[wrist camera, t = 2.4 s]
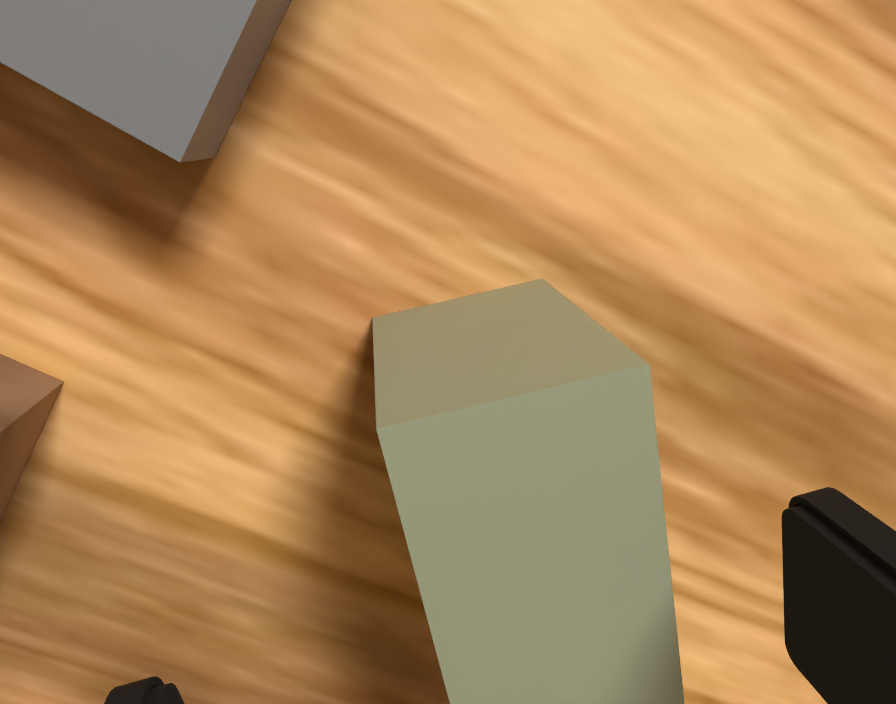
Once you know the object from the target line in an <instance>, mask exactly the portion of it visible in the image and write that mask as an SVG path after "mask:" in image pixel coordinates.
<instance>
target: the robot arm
mask: <svg viewBox="0 0 896 704" xmlns="http://www.w3.org/2000/svg"><path fill="white" fill-rule="evenodd" d="M782 549H783V589H784V629H785V645H786V648H787V651H788V654H789V656H790V658H791V660H792V661H793V663H794V665H795V666H796V667H797V669H798V670H799V671H800V672H801V673H802V674H803V676H804V677H805V678H806V679H807V680H808V681H809V682H810V684H811V685H812V686H813V687H814V688H815V689H816V691H817V692H818V693H819V694H820V695H821V696H822V698H823V699H824V700H825V701H826V702H827V703H828V704H896V531H895V530H893V529H892V528H890V527H889V526H888V525H886V524H885V523H883V522H882V521H880V520H879V519H878V518H876V517H875V516H873V515H872V514H871V513H869V512H868V511H866V510H865V509H864V508H862V507H861V506H859V505H858V504H856V503H855V502H854V501H852V500H851V499H849V498H848V497H847V496H845V495H844V494H842V493H841V492H839V491H838V490H836V489H834V488H829V487H826V488H823V489H819V490H816V491H812V492H809V493H805V494H802V495H798V496H795V497H793V498H792V499H791V500H790V502H789V508H788V509H786V510H784V511H783V513H782ZM104 704H184V702H183V700H182V698H181V696H180V693H179V691H178V689H177V688H176V686H175V685H174V684H173V683H169V684H165V685H164V683H163V682H162V680H161V679H160V678H159V677H150V678H147V679H143V680H140V681H136V682H133V683H129V684H125V685H122V686H118V687H115V688H114V689H112V690H111V691H110V693H109V695H108V697H107V699H106V701H105V703H104Z"/></svg>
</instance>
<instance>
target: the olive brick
mask: <svg viewBox="0 0 896 704" xmlns="http://www.w3.org/2000/svg"><path fill="white" fill-rule="evenodd" d="M372 321H373V350H374V378H375V407H376V430H377V434H378V437H379V441H380V445H381V449H382V452H383V456H384V460H385V464H386V467H387V471H388V475H389V478H390V482H391V486H392V490H393V493H394V497H395V501H396V505H397V508H398V512H399V516H400V519H401V523H402V527H403V531H404V534H405V538H406V542H407V545H408V549H409V553H410V557H411V560H412V564H413V568H414V572H415V575H416V579H417V583H418V586H419V590H420V594H421V598H422V601H423V605H424V609H425V613H426V616H427V620H428V624H429V627H430V631H431V635H432V639H433V642H434V646H435V650H436V654H437V657H438V661H439V665H440V668H441V672H442V676H443V680H444V683H445V687H446V691H447V695H448V698H449V702H450V704H684V695H683V686H682V676H681V666H680V657H679V647H678V637H677V628H676V618H675V608H674V599H673V589H672V580H671V570H670V560H669V551H668V541H667V531H666V522H665V512H664V502H663V493H662V483H661V474H660V464H659V454H658V445H657V435H656V425H655V416H654V406H653V396H652V387H651V377H650V368H649V364H648V363H647V362H646V361H645V360H643V359H642V358H641V357H640V356H638V355H637V354H636V353H635V352H633V351H632V350H631V349H630V348H628V347H627V346H626V345H625V344H623V343H622V342H621V341H620V340H618V339H617V338H616V337H615V336H613V335H612V334H611V333H610V332H608V331H607V330H606V329H605V328H603V327H602V326H601V325H600V324H598V323H597V322H596V321H595V320H593V319H592V318H591V317H590V316H588V315H587V314H586V313H585V312H583V311H582V310H581V309H580V308H578V307H577V306H576V305H575V304H573V303H572V302H571V301H570V300H568V299H567V298H566V297H565V296H563V295H562V294H561V293H560V292H559V291H557V290H556V289H555V288H554V287H552V286H551V285H550V284H549V283H547V282H546V281H545V280H544V279H539V280H534V281H530V282H525V283H521V284H517V285H512V286H508V287H504V288H499V289H495V290H491V291H486V292H482V293H478V294H473V295H469V296H465V297H460V298H456V299H452V300H447V301H443V302H439V303H434V304H430V305H426V306H421V307H417V308H412V309H408V310H404V311H399V312H395V313H391V314H386V315H382V316H378V317H373V318H372Z"/></svg>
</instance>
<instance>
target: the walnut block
mask: <svg viewBox="0 0 896 704" xmlns="http://www.w3.org/2000/svg"><path fill="white" fill-rule="evenodd" d="M63 382H64V381H61V380H59V379H57V378H54V377H52V376H50V375H47V374H45V373H43V372H41V371H38V370H36V369H34V368H31V367H29V366H27V365H24V364H22V363H20V362H17V361H15V360H13V359H10V358H8V357H6V356H4V355H1V354H0V521H1V519H2V517H3V514H4V512H5V510H6V508H7V506H8V503H9V501H10V499H11V497H12V495H13V492H14V490H15V488H16V486H17V484H18V481H19V479H20V477H21V475H22V473H23V470H24V468H25V466H26V464H27V462H28V459H29V457H30V455H31V453H32V451H33V448H34V446H35V444H36V442H37V440H38V437H39V435H40V433H41V431H42V429H43V426H44V424H45V422H46V420H47V418H48V415H49V413H50V411H51V409H52V407H53V404H54V402H55V400H56V398H57V395H58V393H59V391H60V389H61V387H62V384H63Z"/></svg>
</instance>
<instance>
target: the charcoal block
mask: <svg viewBox="0 0 896 704" xmlns="http://www.w3.org/2000/svg"><path fill="white" fill-rule="evenodd" d="M290 2H291V0H0V62H1V63H3V64H4V65H6V66H8V67H10V68H11V69H13V70H15V71H17V72H19V73H20V74H22V75H24V76H26V77H28V78H29V79H31V80H33V81H35V82H37V83H38V84H40V85H42V86H44V87H46V88H47V89H49V90H51V91H53V92H55V93H56V94H58V95H60V96H62V97H63V98H65V99H67V100H69V101H71V102H72V103H74V104H76V105H78V106H80V107H81V108H83V109H85V110H87V111H89V112H90V113H92V114H94V115H96V116H98V117H99V118H101V119H103V120H105V121H107V122H108V123H110V124H112V125H114V126H115V127H117V128H119V129H121V130H123V131H124V132H126V133H128V134H130V135H132V136H133V137H135V138H137V139H139V140H141V141H142V142H144V143H146V144H148V145H150V146H151V147H153V148H155V149H157V150H159V151H160V152H162V153H164V154H166V155H167V156H169V157H171V158H173V159H175V160H176V161H178V162H187V161H195V160H202V159H210V158H215V156H216V154H217V152H218V150H219V148H220V146H221V144H222V142H223V140H224V138H225V136H226V134H227V131H228V129H229V127H230V125H231V123H232V121H233V119H234V117H235V115H236V113H237V111H238V109H239V107H240V105H241V103H242V101H243V99H244V96H245V94H246V92H247V90H248V88H249V86H250V84H251V82H252V80H253V78H254V76H255V74H256V72H257V70H258V68H259V66H260V64H261V61H262V59H263V57H264V55H265V53H266V51H267V49H268V47H269V45H270V43H271V41H272V39H273V37H274V35H275V33H276V31H277V29H278V27H279V24H280V22H281V20H282V18H283V16H284V14H285V12H286V10H287V8H288V6H289V4H290Z"/></svg>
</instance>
